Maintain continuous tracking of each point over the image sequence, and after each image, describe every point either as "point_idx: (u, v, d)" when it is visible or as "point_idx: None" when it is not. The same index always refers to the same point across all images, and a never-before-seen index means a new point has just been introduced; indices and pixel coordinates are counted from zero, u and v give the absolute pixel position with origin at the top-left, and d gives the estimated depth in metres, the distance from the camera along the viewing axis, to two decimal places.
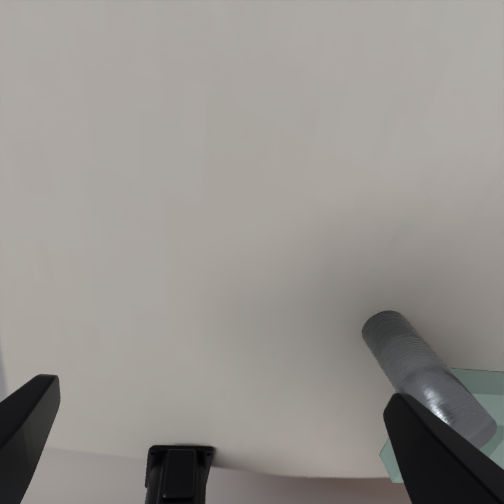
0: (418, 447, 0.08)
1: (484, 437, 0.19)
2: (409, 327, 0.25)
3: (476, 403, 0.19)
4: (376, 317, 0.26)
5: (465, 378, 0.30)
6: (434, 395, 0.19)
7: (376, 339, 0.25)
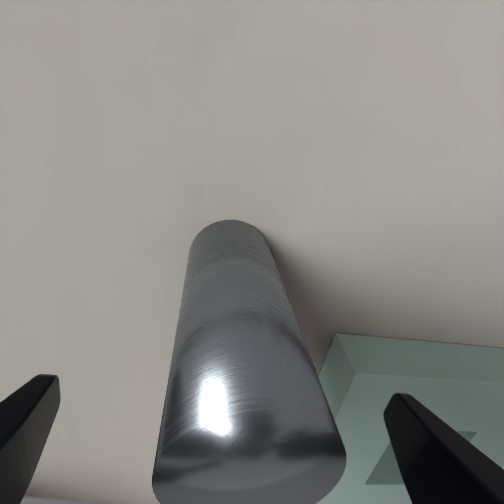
0: (418, 447, 0.08)
1: (315, 476, 0.07)
2: (249, 240, 0.13)
3: (287, 378, 0.06)
4: (204, 230, 0.14)
5: (390, 351, 0.18)
6: (192, 358, 0.07)
7: (188, 265, 0.13)
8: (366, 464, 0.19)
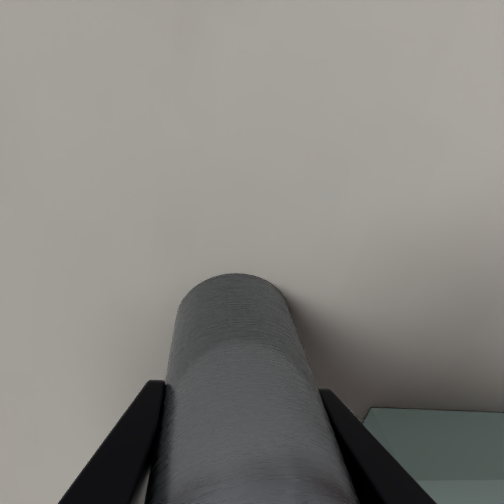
0: None
1: None
2: (265, 316, 0.08)
3: None
4: (197, 290, 0.10)
5: (445, 435, 0.13)
6: None
7: (171, 351, 0.09)
8: None
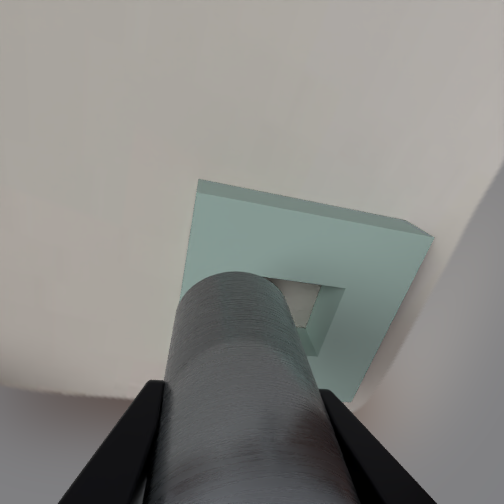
0: None
1: None
2: (264, 313, 0.08)
3: None
4: (196, 288, 0.10)
5: (249, 194, 0.17)
6: None
7: (170, 349, 0.09)
8: None
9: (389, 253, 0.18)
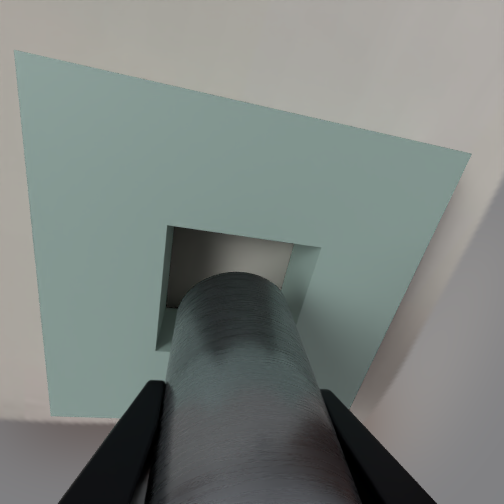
0: None
1: None
2: (265, 314, 0.08)
3: None
4: (197, 289, 0.10)
5: None
6: None
7: (171, 350, 0.09)
8: (140, 304, 0.12)
9: (393, 184, 0.11)
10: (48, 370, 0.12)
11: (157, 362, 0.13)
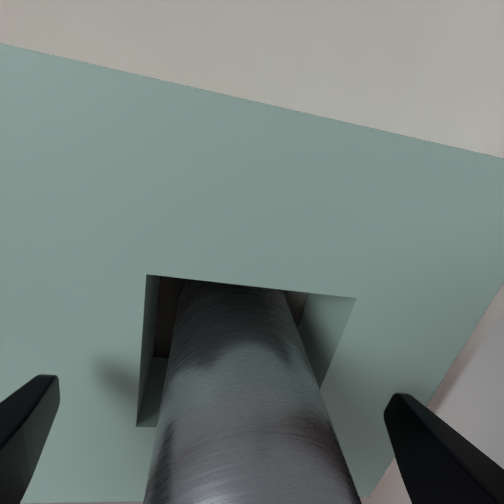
0: (418, 447, 0.08)
1: None
2: (260, 293, 0.09)
3: None
4: None
5: None
6: None
7: (175, 326, 0.09)
8: (113, 373, 0.09)
9: (460, 215, 0.08)
10: None
11: (139, 439, 0.10)
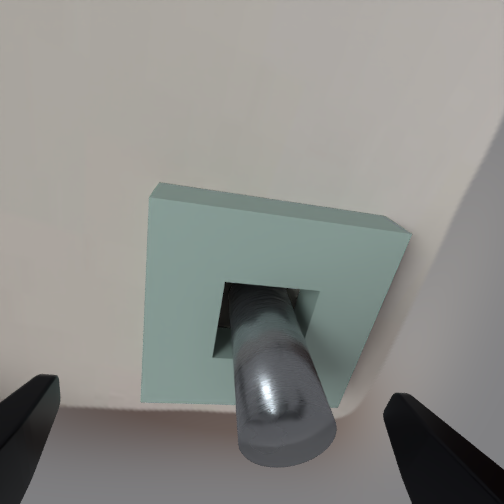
0: (418, 447, 0.08)
1: (320, 437, 0.13)
2: (274, 289, 0.19)
3: (305, 386, 0.12)
4: None
5: (211, 195, 0.17)
6: (253, 375, 0.13)
7: (232, 306, 0.19)
8: (205, 329, 0.18)
9: (364, 253, 0.17)
10: (143, 371, 0.19)
11: (213, 365, 0.20)
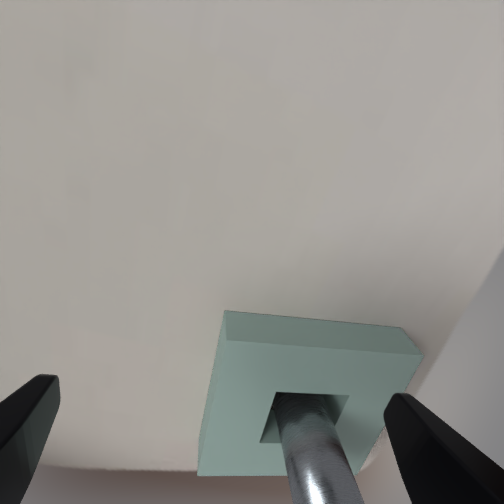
0: (418, 447, 0.08)
1: None
2: None
3: (350, 498, 0.17)
4: None
5: (267, 325, 0.21)
6: (309, 485, 0.18)
7: (277, 403, 0.23)
8: (256, 423, 0.23)
9: (386, 369, 0.22)
10: (203, 454, 0.23)
11: (259, 448, 0.24)
